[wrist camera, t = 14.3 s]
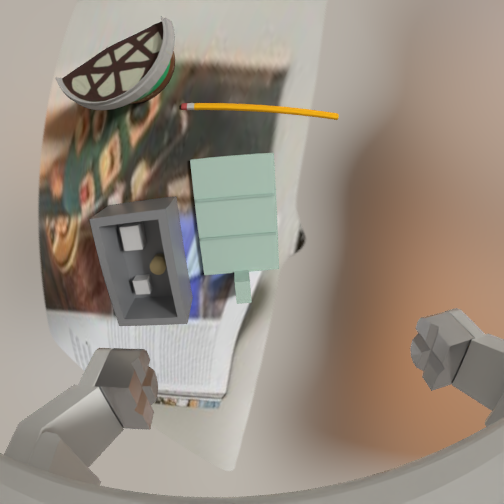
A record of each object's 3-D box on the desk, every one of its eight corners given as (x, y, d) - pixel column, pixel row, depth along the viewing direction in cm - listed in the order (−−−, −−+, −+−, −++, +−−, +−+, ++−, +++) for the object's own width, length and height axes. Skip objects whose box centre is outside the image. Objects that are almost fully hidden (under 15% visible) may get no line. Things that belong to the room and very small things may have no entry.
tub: (109, 205, 35) (89, 219, 29) (176, 196, 35) (165, 208, 30) (131, 301, 40) (119, 325, 35) (192, 297, 41) (187, 323, 35)
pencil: (182, 103, 31) (181, 103, 31) (336, 113, 33) (338, 113, 32) (182, 110, 32) (181, 109, 31) (336, 119, 33) (338, 119, 32)
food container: (109, 131, 31) (69, 134, 22) (93, 89, 29) (51, 80, 20) (202, 85, 30) (190, 68, 21) (184, 43, 28) (167, 13, 19)
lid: (190, 159, 34) (186, 162, 30) (273, 152, 34) (277, 154, 31) (207, 291, 40) (205, 306, 37) (278, 285, 41) (282, 299, 37)
